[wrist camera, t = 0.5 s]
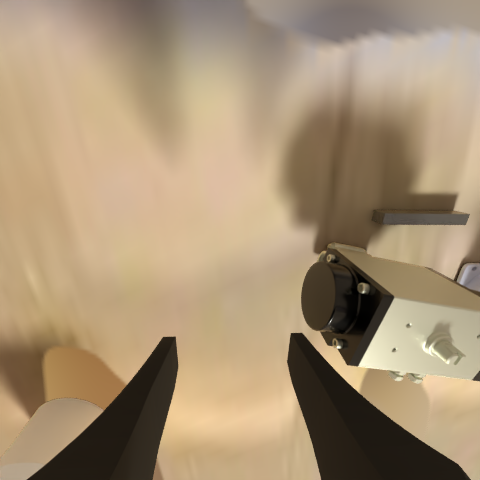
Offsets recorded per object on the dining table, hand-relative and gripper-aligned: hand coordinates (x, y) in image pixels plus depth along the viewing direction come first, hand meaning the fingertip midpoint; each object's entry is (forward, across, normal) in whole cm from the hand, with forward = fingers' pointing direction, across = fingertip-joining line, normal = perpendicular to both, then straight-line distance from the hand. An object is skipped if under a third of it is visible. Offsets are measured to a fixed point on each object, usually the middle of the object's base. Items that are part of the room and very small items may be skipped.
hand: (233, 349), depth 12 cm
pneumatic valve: (+11, -11, 0) cm, 15 cm away
